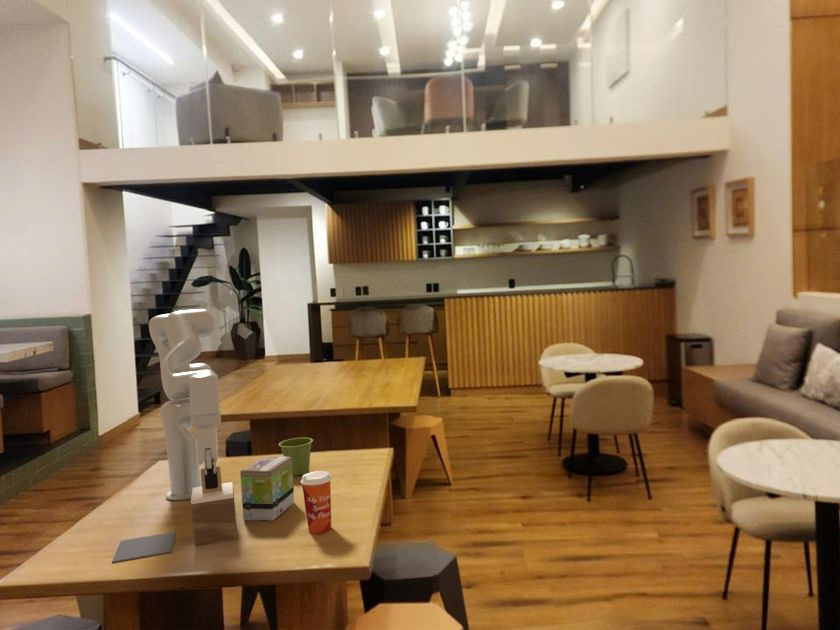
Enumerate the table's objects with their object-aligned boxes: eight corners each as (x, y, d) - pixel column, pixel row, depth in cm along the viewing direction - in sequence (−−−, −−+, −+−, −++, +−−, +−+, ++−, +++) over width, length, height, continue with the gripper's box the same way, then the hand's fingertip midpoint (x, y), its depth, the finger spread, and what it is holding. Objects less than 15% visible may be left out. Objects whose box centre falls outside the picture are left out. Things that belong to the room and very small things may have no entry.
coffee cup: (310, 538, 171) (305, 482, 170) (300, 528, 178) (296, 474, 177) (340, 530, 174) (335, 475, 174) (329, 521, 182) (325, 468, 181)
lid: (193, 495, 180) (190, 466, 180) (233, 489, 183) (230, 460, 183) (191, 508, 170) (188, 477, 170) (233, 501, 173) (230, 471, 173)
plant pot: (288, 468, 236) (285, 438, 236) (319, 467, 235) (317, 437, 234) (276, 479, 225) (273, 446, 224) (309, 478, 223) (306, 445, 222)
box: (196, 531, 181) (193, 492, 180) (236, 524, 184) (233, 486, 183) (195, 546, 171) (191, 504, 170) (237, 538, 174) (233, 498, 173)
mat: (120, 542, 177) (120, 540, 177) (175, 533, 181) (175, 531, 181) (112, 563, 163) (112, 561, 163) (171, 552, 167) (171, 551, 167)
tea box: (275, 521, 185) (270, 470, 184) (242, 521, 187) (238, 470, 186) (295, 502, 199) (291, 455, 198) (265, 502, 201) (261, 455, 200)
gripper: (192, 415, 182) (198, 480, 183) (189, 427, 167) (196, 498, 168) (220, 412, 184) (226, 476, 185) (220, 423, 169) (226, 493, 170)
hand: (212, 486), depth 177 cm, fingers closed on lid
